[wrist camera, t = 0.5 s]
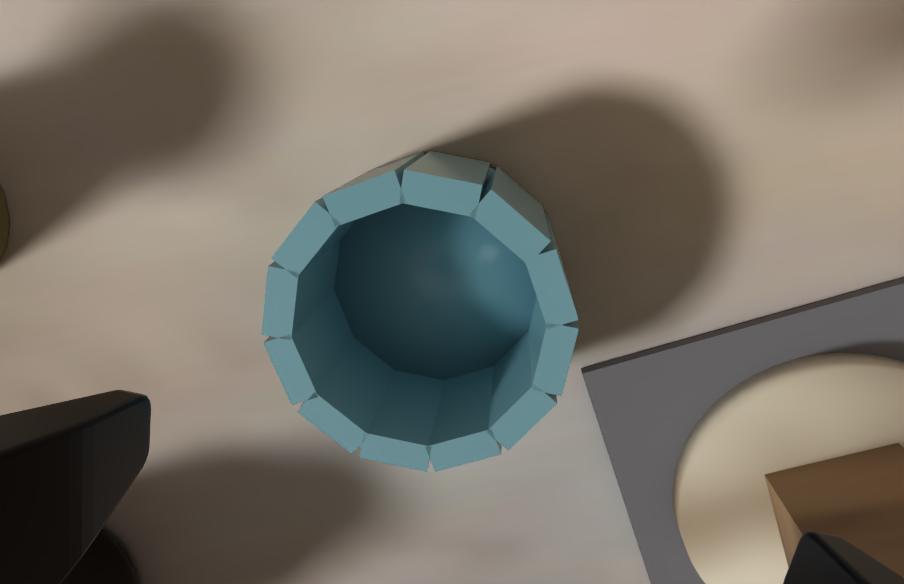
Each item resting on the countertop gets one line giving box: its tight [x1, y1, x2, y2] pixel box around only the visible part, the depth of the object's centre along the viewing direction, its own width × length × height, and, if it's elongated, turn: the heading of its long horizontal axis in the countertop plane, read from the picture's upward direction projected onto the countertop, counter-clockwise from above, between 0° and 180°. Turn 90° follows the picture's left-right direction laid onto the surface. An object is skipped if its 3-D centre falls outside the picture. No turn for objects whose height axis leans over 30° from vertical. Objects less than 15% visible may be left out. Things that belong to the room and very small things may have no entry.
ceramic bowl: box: [262, 151, 579, 472], centre depth 19 cm, size 8×8×5 cm
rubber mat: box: [581, 278, 904, 584], centre depth 22 cm, size 13×13×1 cm
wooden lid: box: [673, 352, 904, 584], centre depth 19 cm, size 10×10×6 cm
